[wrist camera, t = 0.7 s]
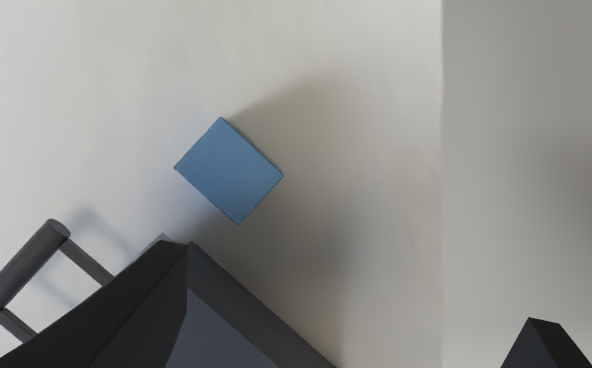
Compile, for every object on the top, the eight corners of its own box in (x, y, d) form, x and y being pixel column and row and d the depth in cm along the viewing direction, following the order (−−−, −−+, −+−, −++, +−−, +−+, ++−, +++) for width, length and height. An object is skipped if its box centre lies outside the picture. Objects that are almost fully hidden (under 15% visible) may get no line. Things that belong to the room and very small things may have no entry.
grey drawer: (-9, 304, 31) (-77, 344, 25) (105, 181, 31) (66, 190, 25) (199, 475, 33) (186, 552, 27) (307, 359, 33) (319, 409, 27)
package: (240, 217, 33) (237, 226, 29) (182, 165, 32) (172, 167, 29) (281, 172, 33) (284, 175, 29) (224, 119, 32) (220, 116, 29)
